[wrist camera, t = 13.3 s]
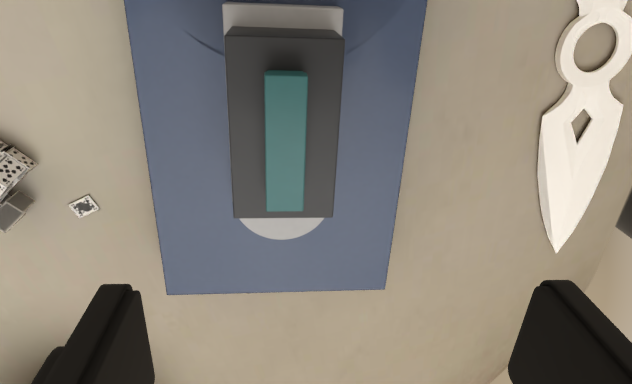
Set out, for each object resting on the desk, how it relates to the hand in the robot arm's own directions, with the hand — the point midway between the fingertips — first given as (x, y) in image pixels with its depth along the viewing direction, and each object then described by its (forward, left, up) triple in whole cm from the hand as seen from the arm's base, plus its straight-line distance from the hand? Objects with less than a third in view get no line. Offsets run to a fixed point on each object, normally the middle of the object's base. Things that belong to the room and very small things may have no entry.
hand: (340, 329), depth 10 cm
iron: (+1, +1, -17) cm, 17 cm away
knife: (-21, -1, -21) cm, 30 cm away
